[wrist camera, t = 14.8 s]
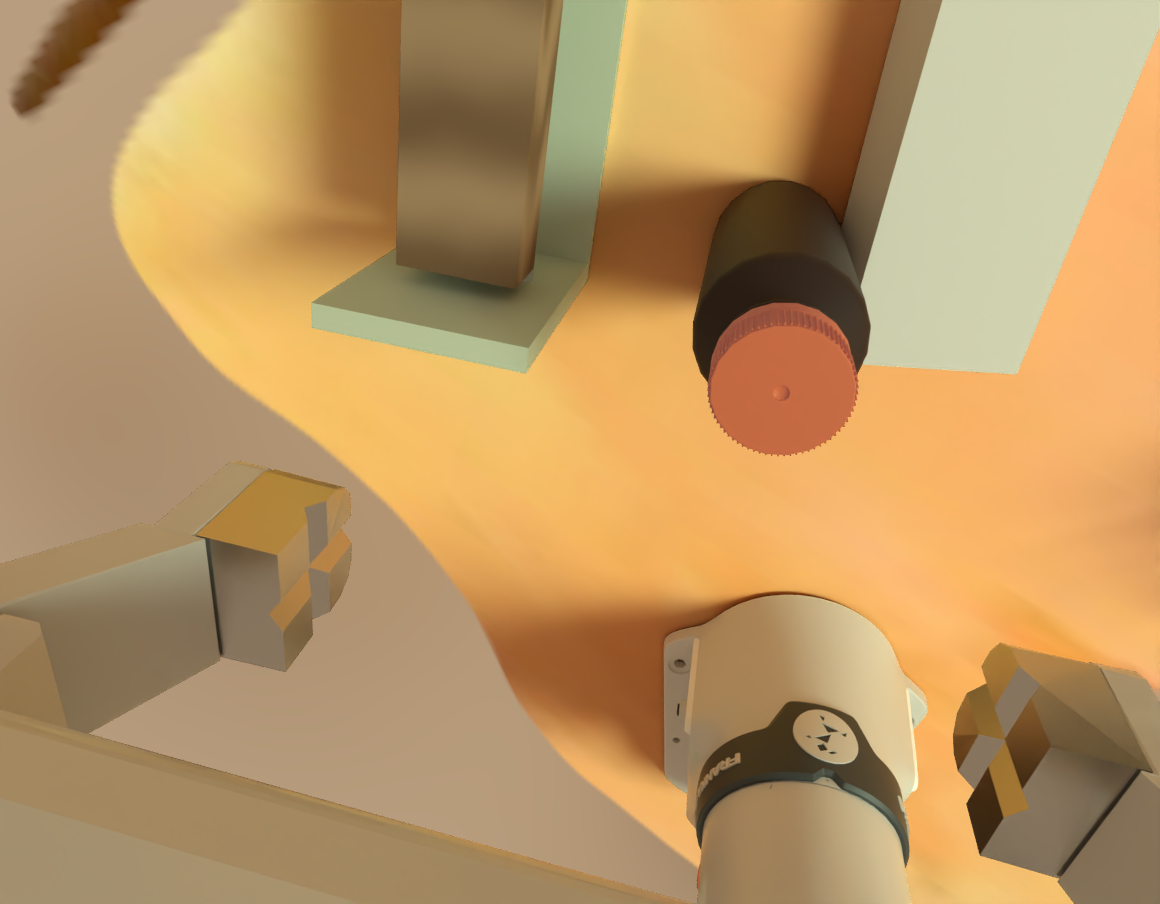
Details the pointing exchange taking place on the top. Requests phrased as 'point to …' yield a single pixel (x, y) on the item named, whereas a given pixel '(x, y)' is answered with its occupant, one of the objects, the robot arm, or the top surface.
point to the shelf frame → (564, 241)
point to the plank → (474, 134)
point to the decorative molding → (984, 169)
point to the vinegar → (780, 321)
